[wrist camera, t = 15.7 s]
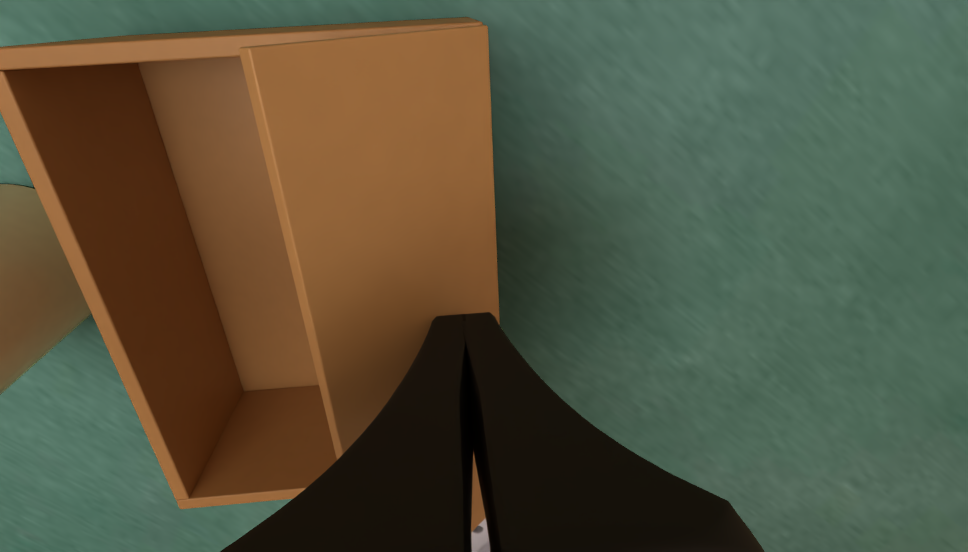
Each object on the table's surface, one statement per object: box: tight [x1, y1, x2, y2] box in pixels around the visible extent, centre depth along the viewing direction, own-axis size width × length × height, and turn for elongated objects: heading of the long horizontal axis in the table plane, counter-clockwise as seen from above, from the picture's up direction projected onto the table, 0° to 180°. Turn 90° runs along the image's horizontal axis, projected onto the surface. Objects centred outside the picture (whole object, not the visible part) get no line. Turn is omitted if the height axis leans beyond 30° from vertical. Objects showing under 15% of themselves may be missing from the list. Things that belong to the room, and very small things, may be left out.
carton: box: [0, 17, 483, 509], centre depth 16 cm, size 10×13×5 cm
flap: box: [239, 25, 500, 532], centre depth 11 cm, size 5×13×1 cm
